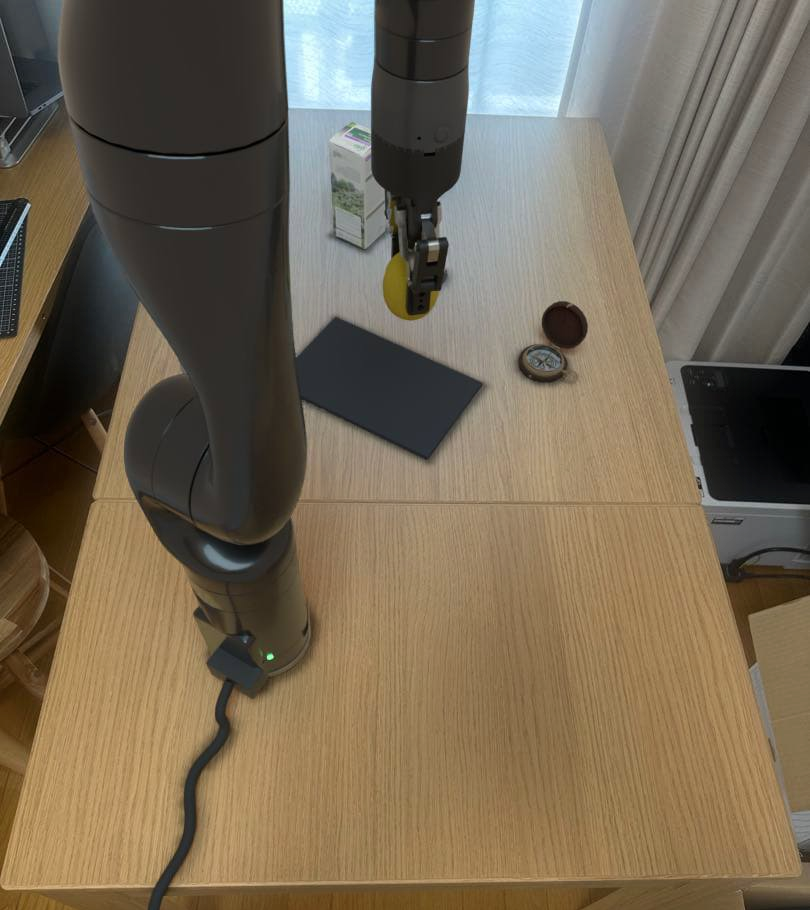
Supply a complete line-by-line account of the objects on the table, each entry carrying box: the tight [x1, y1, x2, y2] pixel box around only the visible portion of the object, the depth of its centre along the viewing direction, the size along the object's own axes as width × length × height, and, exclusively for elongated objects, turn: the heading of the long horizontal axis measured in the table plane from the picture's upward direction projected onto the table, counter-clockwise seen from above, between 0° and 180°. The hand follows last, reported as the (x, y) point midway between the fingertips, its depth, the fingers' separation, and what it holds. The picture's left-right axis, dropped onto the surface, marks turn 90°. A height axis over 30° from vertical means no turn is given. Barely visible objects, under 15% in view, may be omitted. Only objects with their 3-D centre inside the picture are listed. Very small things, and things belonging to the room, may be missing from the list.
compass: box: [518, 300, 589, 382], centre depth 93 cm, size 8×8×7 cm
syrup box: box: [328, 121, 387, 250], centre depth 102 cm, size 6×6×14 cm
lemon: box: [382, 252, 440, 322], centre depth 72 cm, size 6×6×8 cm
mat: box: [296, 316, 483, 461], centre depth 92 cm, size 14×22×1 cm, turn 60°
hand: (409, 290), depth 73 cm, fingers closed on lemon, 5 cm apart
